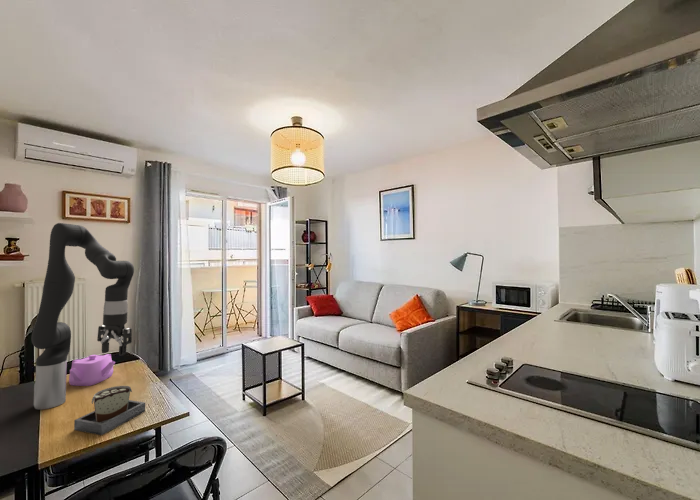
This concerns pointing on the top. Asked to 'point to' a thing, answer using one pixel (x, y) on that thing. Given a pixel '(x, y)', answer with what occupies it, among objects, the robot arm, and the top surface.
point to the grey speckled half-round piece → (111, 402)
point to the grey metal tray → (91, 426)
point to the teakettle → (91, 370)
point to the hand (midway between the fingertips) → (113, 353)
